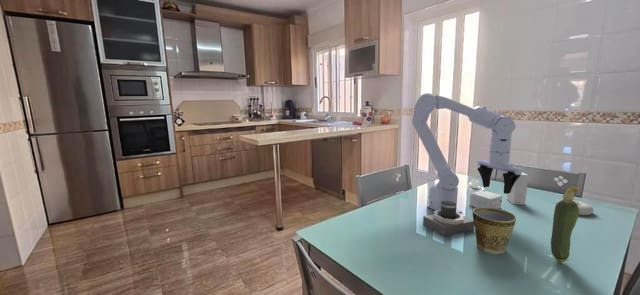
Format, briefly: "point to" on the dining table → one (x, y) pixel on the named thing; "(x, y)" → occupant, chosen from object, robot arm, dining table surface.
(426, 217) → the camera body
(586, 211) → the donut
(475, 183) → the teacup and saucer
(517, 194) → the skincare box
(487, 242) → the ceramic cup
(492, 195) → the small box
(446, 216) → the lens
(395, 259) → the dining table surface
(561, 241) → the vegetable
